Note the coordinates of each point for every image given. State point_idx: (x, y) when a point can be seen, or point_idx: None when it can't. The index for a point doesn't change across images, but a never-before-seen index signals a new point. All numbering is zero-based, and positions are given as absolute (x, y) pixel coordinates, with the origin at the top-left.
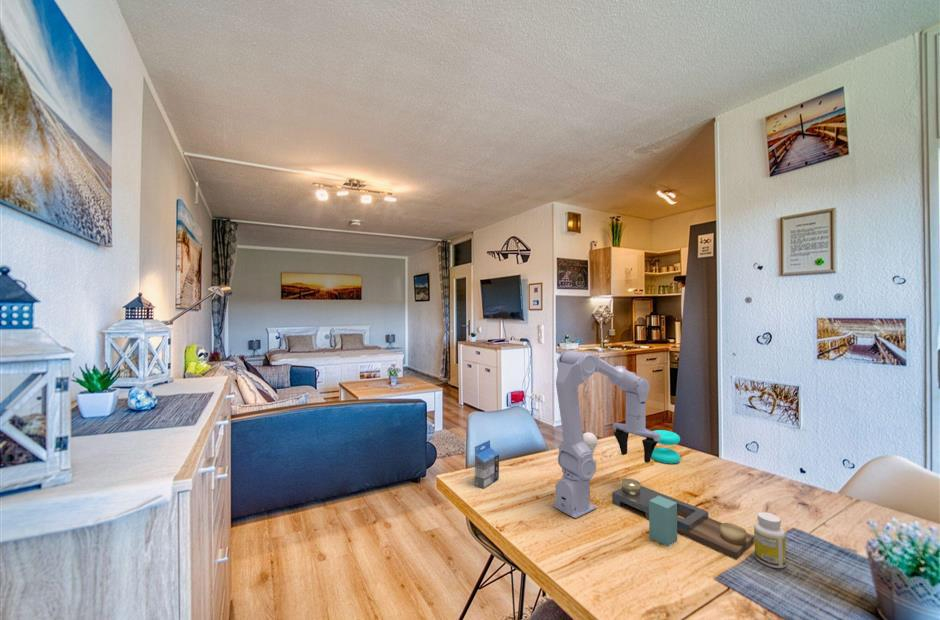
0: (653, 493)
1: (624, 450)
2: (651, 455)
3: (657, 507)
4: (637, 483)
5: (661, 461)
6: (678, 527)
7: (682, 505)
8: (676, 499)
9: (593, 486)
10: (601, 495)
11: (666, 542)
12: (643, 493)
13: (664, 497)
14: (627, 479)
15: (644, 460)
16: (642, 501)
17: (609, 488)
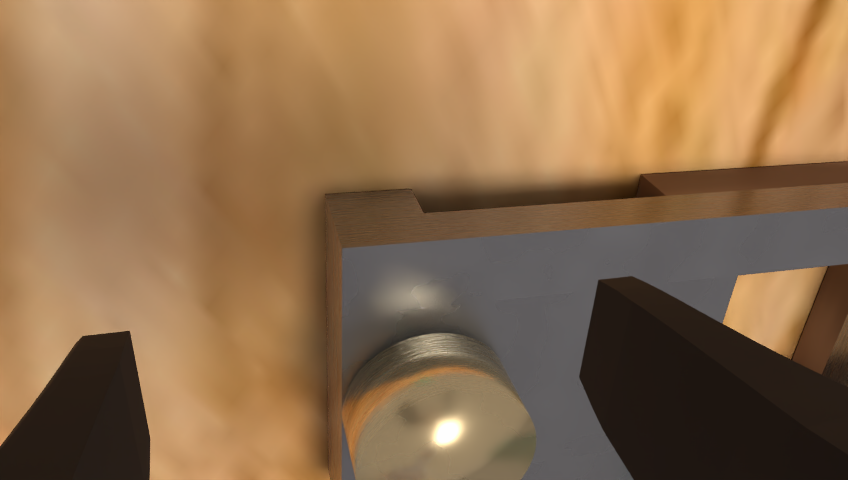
0: (596, 283)
1: (133, 475)
2: (721, 331)
3: None
4: (508, 432)
5: None
6: None
7: (828, 264)
8: (781, 215)
9: (4, 413)
10: (193, 461)
11: None
12: (530, 354)
13: (692, 269)
14: (390, 446)
15: (593, 406)
16: (578, 457)
17: (125, 319)
